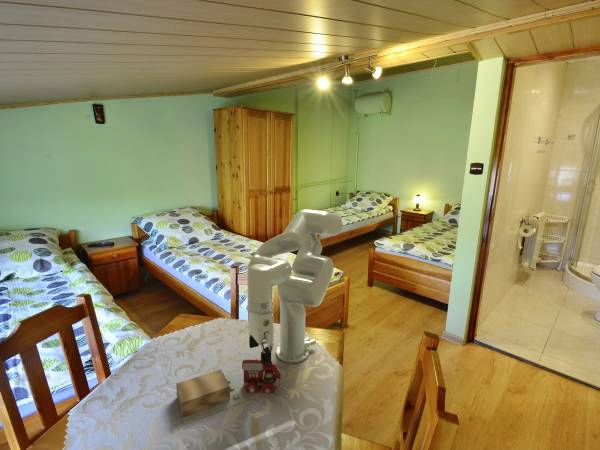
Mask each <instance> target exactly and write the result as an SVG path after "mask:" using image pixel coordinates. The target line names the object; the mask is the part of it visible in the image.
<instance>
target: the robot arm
mask: <svg viewBox="0 0 600 450" xmlns="http://www.w3.org/2000/svg"><path fill="white" fill-rule="evenodd" d="M342 229H343V219H342V217H341V216H340V215H339V214H335V213H332V212H328V211H324V210H314V209H301V210H298V211H297V212H296V213H295V214H294V216H293V218H292V219H291V220H290V222H289V223H288V225H287V226H286V228H285V229H284V231H283V232H282V233H281V234H278V235H276V236H274V237H272V238H270V239H268V240H266V241H265V242H263V243H262V244H260V245H259V247H258V248H257V249H256V250H255V251H254V253H253V255H251V256H252V257H251V258H250V260H249V262H248V265H247V279H246V280H247V311H248V319H247V320H248V335H249V342H248V345H249V347H248V348H250V349H253V348H257V347H259V346H260V348H261V351H260V360H261V364H262V365H263V364H266V363H269V362H271V361H272V351H273V347H274V341H275V340H274V339H275V338H274V337H275V335H274V333H275V331H274V330H275V329H274V318H273V312H272V310H273V286H276V285H277V287H276V289H277V295H278V301H279V309H280V310H279V311H280V312H279V316H280V317H279V326H280V327H279V329H280V330H279V331H280V332H279V336H280V338H279V339H280V340H279V346H277V348H276V350H275V353H276V354H275V355H276V357H277V358H278V359H279V360H280V361H282V362H284V363H288V364H297V363H301V362H303V361H305V360H307V358H308V357H309V353H310V351H309V347H310V346H314V345H316V340H315V339H311V340H310V338H309V337H306V309H305V306H307V307H312V308H316V307H318V306H320V305H321V303H322V302H324V301H323V300H324V298H325V296H326V292H327V291H328V288H329V285H330V282H331V280H332V276H333V274H334V262H333V260H332V259H331V258H330V257H329V256H326V255H321V254H322V251H323V245H322V243H321V240H320V239H319V237H318V236H317V234H319V235H325V236H333V237H336V236H337V235H339V234H340V233H341V232H342ZM295 251H296V252H297V251H298V252H297V254H296V256H295V258H294V260H293V263H292V265H291V264H290V263H289V262H288V261H286V260H283V259H280V258H273V257H276V256H278V255H283V254H288V253H293V252H295ZM292 272H293V273H292ZM264 340H265V341H264ZM264 345H266V346H264Z"/></svg>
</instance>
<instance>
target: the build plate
mask: <svg viewBox="0 0 600 450" xmlns="http://www.w3.org/2000/svg"><path fill="white" fill-rule="evenodd" d="M224 376H225V378H226V380H227V382H228V384H229V386H230V401H227V402H224V403H222V404H219V405H216V406H214V407H211V408H208V409H205V410H203V411H200V412H197V413H195V414H192V415H189V416H186V417H184V418H183V417H182V421H183V424H184V425H186V424H189V423H191V422H195V421H196V420H200V419H202V418H205V417H208V416H210V415H212V414H215V413H218V412H221V411H223V410H226V409H228V408H232V407H234V406H236V405H239V404H242V403H244V402H246V400H245V397H244V396H243V394H242V391H241V390H240V388H239V386H238V384H237V382H236V380H235V379H234V377H233V375H232V374H228V375H224ZM175 395H176V396H177V391H176V392H175Z"/></svg>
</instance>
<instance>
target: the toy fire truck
mask: <svg viewBox="0 0 600 450" xmlns="http://www.w3.org/2000/svg"><path fill="white" fill-rule="evenodd" d="M241 369H242V370H243V386H245V393H246V394H249V393H250V394H257V393H258V392H259V387H261V393H262V394H274V392H275V387H280V385H281V380H282V378H281V373H280V371H279V369H278V367H277V366H276V364H274V363H273V361H272V360H271V362H269V363H266V364H263V365H262V364H261V359H243V360H242V362H241Z"/></svg>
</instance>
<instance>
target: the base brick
mask: <svg viewBox="0 0 600 450" xmlns="http://www.w3.org/2000/svg"><path fill="white" fill-rule="evenodd" d="M225 376H226V375H225V374H224V372H223V371H222V369H218V370H215V371H214V370H213V371H211V372H209V373H206V374H202V375H198V376H195V377H192V378H190V379H186V380H183V381H180V382H176V383H175V386H176V392H177V395H176V398H177V401H178V402H177V403H178V405H179V409H180V414H181V416H182V417H181V418H182V419H183V418H184V417H186V416H189V415H192V414H195V413H197V412H200V411H203V410H205V409H208V408H211V407H214V406H216V405H219V404H222V403H224V402H227V401H230V386H229V384H228V382H227V380H226V378H225Z"/></svg>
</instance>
